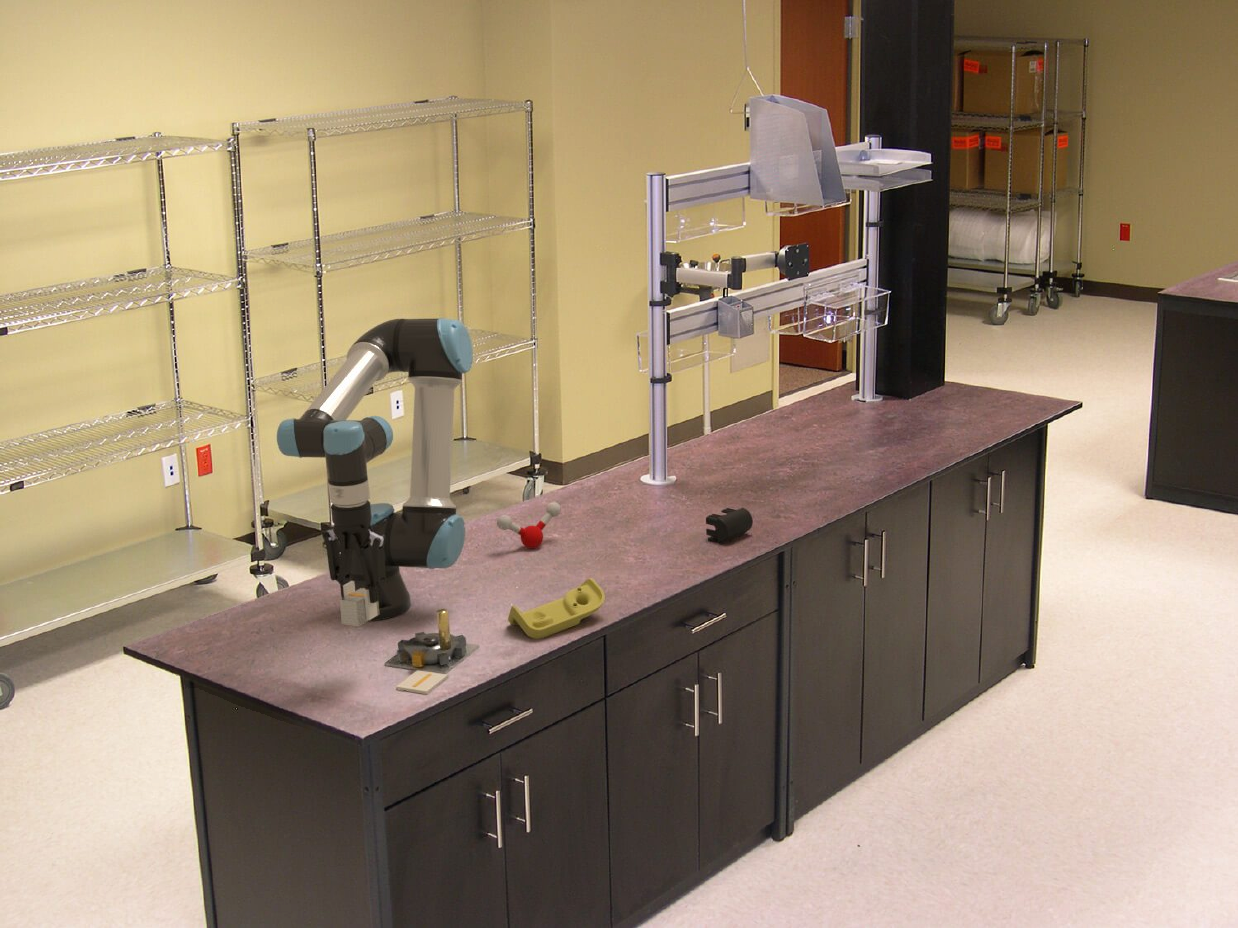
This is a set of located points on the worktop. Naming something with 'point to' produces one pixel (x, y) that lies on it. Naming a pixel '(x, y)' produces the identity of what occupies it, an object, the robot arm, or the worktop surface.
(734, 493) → the worktop surface
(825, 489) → the worktop surface
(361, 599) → the link block
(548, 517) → the molecular model
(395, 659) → the sprocket base
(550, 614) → the plastic component
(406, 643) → the sprocket
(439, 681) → the marked pad
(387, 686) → the worktop surface
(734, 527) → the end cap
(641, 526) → the worktop surface
